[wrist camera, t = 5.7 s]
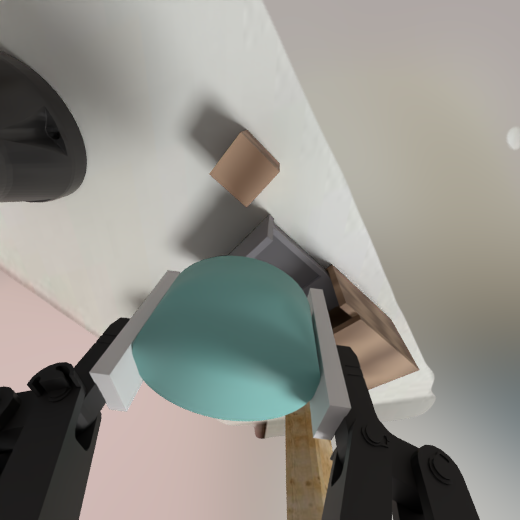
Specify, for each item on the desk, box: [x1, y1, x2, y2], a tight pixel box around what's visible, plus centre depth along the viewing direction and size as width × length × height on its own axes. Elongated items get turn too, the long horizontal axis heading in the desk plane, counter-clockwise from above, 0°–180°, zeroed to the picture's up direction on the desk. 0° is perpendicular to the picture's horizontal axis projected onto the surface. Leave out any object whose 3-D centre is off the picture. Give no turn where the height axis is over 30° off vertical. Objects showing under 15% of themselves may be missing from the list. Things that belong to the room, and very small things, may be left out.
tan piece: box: [285, 401, 333, 520], centre depth 39 cm, size 23×6×30 cm, turn 17°
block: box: [210, 130, 280, 207], centre depth 24 cm, size 5×5×5 cm
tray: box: [228, 214, 339, 312], centre depth 32 cm, size 18×13×6 cm
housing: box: [325, 265, 419, 390], centre depth 35 cm, size 16×14×9 cm
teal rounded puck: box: [132, 256, 320, 421], centre depth 11 cm, size 8×8×4 cm
